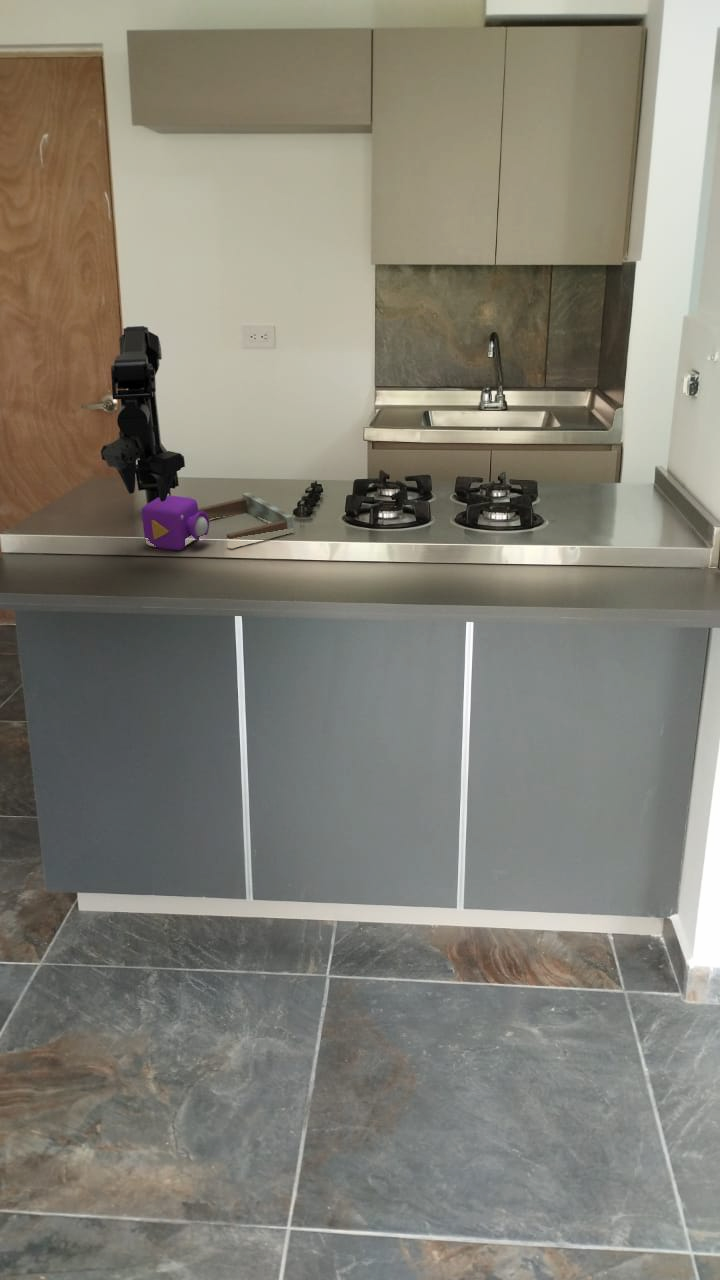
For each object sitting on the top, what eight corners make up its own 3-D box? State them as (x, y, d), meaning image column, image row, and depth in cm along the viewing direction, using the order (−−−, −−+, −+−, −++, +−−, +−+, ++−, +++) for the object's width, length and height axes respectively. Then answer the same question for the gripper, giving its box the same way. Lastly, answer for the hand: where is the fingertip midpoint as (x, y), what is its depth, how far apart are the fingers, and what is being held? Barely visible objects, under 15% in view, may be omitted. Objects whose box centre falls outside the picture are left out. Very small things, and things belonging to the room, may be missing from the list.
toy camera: (202, 554, 227) (197, 509, 222) (141, 551, 229) (135, 506, 225) (218, 536, 236) (214, 492, 232) (159, 533, 239) (154, 490, 234)
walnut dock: (189, 523, 244) (187, 506, 242) (249, 508, 251) (248, 492, 249) (230, 549, 229) (229, 532, 227) (293, 533, 236) (292, 516, 234)
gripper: (75, 425, 214) (86, 500, 221) (141, 439, 204) (150, 517, 211) (117, 412, 222) (127, 485, 229) (182, 425, 212) (190, 500, 219)
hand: (147, 497), depth 222 cm, fingers open, 9 cm apart
